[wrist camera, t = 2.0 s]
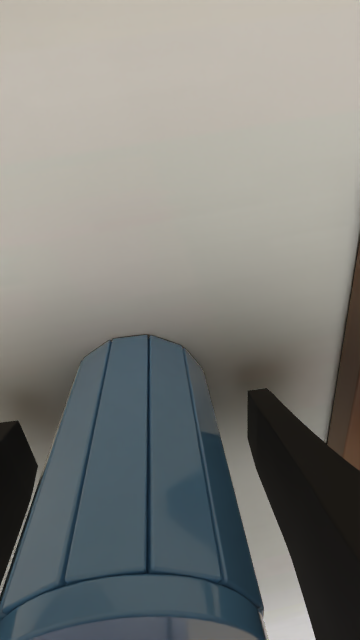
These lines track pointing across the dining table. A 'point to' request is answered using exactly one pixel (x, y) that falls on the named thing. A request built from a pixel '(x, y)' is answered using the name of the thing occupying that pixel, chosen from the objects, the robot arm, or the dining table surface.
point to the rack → (349, 385)
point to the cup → (134, 512)
